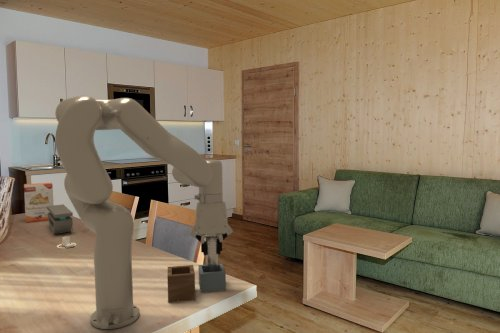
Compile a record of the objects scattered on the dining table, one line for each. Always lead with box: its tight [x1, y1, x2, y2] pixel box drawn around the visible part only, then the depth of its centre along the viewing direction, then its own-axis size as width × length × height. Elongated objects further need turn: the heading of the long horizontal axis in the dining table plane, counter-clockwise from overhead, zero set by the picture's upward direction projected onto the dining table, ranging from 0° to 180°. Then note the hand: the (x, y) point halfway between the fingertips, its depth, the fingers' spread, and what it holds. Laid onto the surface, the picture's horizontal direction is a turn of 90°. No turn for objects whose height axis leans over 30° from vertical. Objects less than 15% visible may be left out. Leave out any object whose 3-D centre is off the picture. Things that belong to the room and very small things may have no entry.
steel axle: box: [205, 234, 219, 272], centre depth 124 cm, size 4×4×14 cm
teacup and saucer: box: [56, 236, 77, 249], centre depth 167 cm, size 9×8×4 cm
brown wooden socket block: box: [167, 264, 196, 303], centre depth 117 cm, size 8×8×8 cm
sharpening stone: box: [47, 204, 74, 235], centre depth 192 cm, size 25×8×11 cm, turn 35°
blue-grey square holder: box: [198, 263, 227, 293], centre depth 124 cm, size 8×8×6 cm
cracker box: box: [23, 182, 54, 223], centre depth 213 cm, size 14×6×21 cm, turn 119°
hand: (211, 253), depth 123 cm, fingers closed on steel axle, 4 cm apart
